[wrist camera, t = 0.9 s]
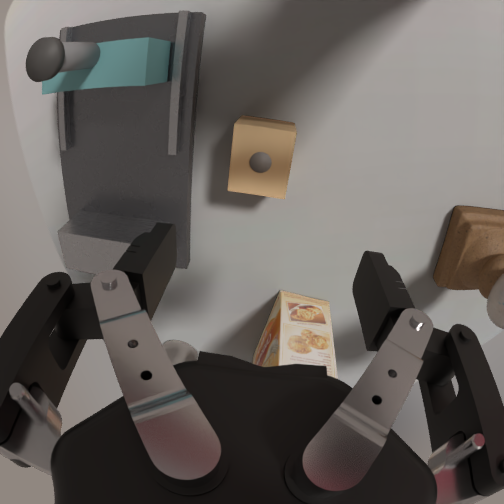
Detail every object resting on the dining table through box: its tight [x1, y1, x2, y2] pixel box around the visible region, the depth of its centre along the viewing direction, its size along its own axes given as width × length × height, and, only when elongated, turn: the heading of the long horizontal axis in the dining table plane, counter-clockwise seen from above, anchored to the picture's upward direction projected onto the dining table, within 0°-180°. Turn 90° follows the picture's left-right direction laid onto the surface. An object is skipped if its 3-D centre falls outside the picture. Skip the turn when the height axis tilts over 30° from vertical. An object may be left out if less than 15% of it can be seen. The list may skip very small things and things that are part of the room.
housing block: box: [227, 115, 297, 199], centre depth 26 cm, size 6×5×5 cm
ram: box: [26, 37, 171, 95], centre depth 18 cm, size 5×11×11 cm, turn 83°
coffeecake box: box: [253, 290, 338, 379], centre depth 34 cm, size 15×7×20 cm, turn 166°
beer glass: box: [163, 340, 198, 365], centre depth 41 cm, size 7×7×15 cm
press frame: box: [57, 11, 206, 274], centre depth 26 cm, size 28×16×6 cm, turn 173°
